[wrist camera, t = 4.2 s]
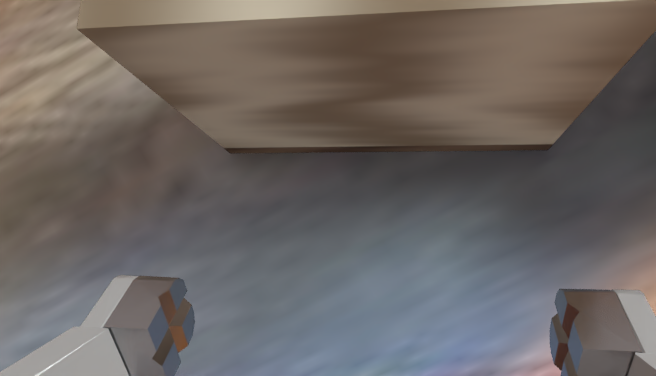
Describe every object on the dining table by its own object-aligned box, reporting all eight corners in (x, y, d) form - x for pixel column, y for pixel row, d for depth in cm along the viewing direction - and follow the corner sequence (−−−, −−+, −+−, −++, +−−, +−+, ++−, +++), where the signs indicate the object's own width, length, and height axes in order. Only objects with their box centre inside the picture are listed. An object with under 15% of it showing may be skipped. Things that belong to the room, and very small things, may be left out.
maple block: (230, 153, 21) (76, 29, 11) (237, 60, 22) (99, -131, 12) (547, 150, 19) (685, -3, 9) (541, 48, 20) (663, -188, 10)
